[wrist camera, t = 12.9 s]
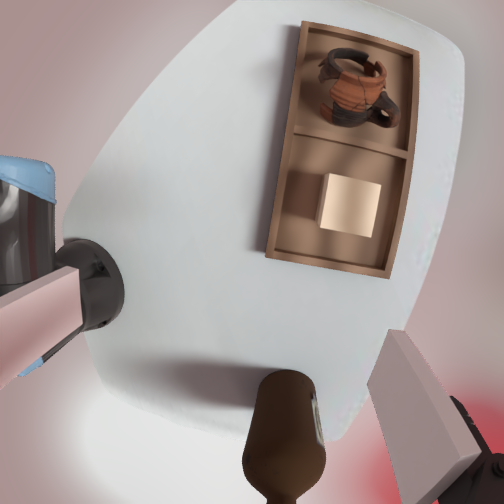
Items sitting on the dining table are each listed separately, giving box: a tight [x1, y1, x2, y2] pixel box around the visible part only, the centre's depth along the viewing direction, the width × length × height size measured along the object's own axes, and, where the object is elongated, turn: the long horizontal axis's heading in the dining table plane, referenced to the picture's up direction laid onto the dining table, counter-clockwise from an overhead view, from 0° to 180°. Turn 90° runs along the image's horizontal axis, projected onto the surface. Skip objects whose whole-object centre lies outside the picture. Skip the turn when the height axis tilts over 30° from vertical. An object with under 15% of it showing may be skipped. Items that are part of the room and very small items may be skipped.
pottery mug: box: [318, 48, 401, 128], centre depth 30 cm, size 12×9×8 cm
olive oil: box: [242, 370, 326, 504], centre depth 32 cm, size 11×11×25 cm
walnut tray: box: [265, 21, 419, 279], centre depth 34 cm, size 17×33×2 cm, turn 171°
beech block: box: [315, 173, 381, 237], centre depth 33 cm, size 6×6×6 cm
